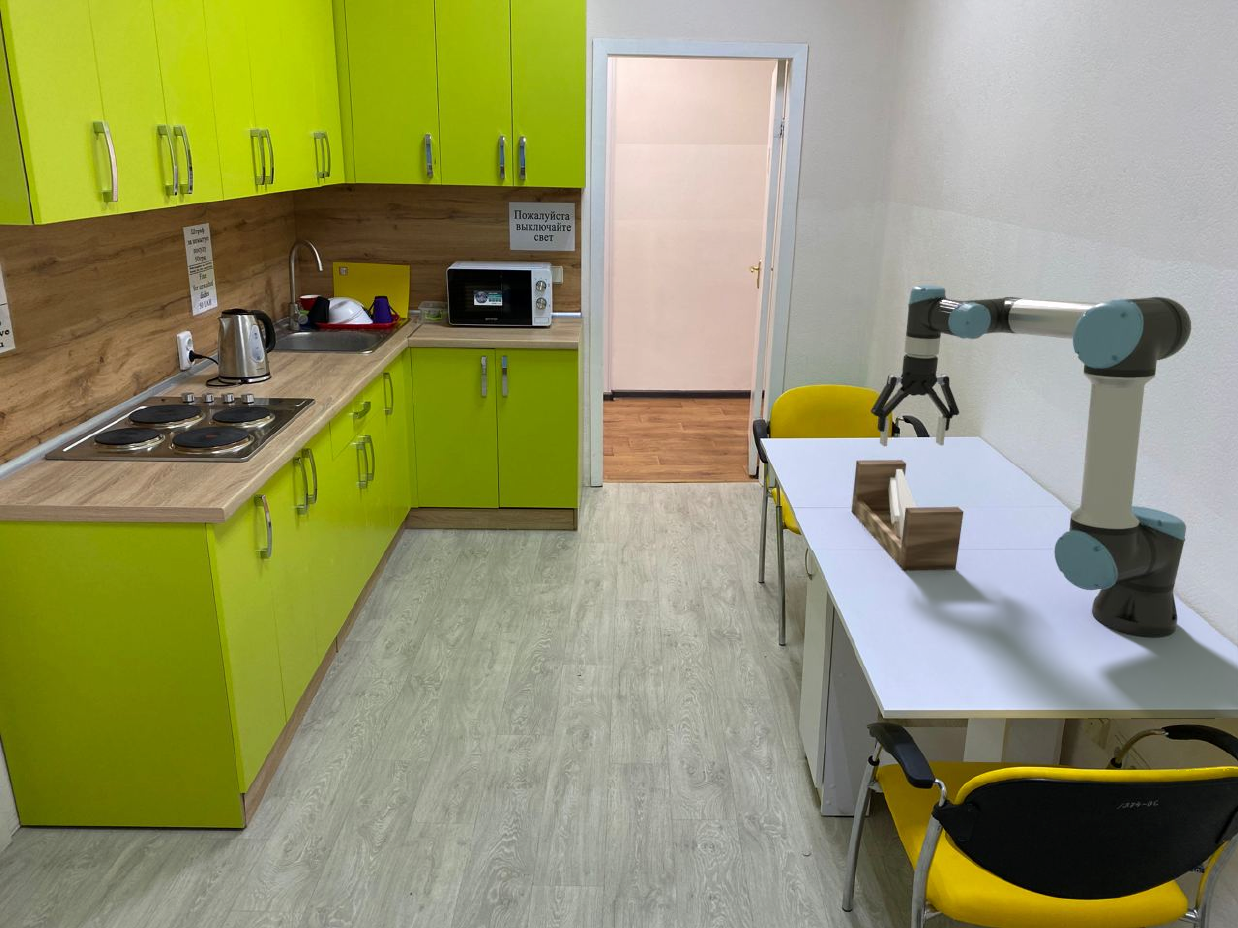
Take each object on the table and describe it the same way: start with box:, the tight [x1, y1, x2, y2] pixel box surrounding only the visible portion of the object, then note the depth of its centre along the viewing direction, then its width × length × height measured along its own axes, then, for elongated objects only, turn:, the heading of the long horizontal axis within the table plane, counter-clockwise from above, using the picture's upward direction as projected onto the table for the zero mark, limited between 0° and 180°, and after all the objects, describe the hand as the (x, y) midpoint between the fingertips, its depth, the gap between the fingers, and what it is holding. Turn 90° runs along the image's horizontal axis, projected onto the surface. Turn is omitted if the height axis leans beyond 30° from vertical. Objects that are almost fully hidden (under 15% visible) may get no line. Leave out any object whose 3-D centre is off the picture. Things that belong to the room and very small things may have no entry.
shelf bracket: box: [888, 469, 917, 542], centre depth 232 cm, size 6×25×13 cm, turn 172°
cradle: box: [851, 459, 964, 572], centre depth 230 cm, size 37×12×14 cm, turn 5°
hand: (911, 444), depth 224 cm, fingers open, 13 cm apart
